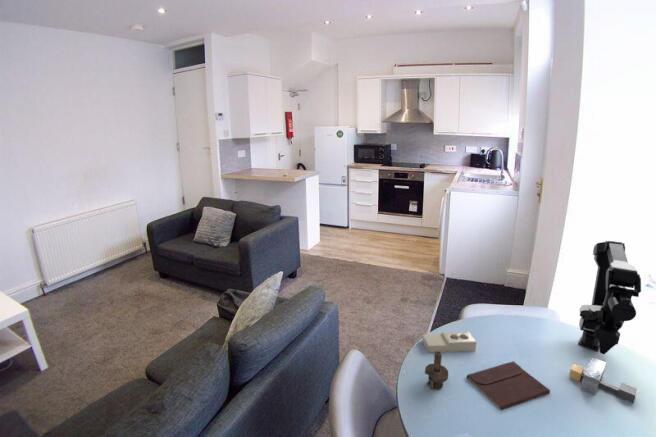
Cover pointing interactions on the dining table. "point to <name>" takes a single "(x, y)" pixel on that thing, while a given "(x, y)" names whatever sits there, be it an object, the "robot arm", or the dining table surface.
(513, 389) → the brown leather pouch
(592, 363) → the plate
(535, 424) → the dining table surface
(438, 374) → the industrial component
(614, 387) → the plug
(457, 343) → the electrical outlet
